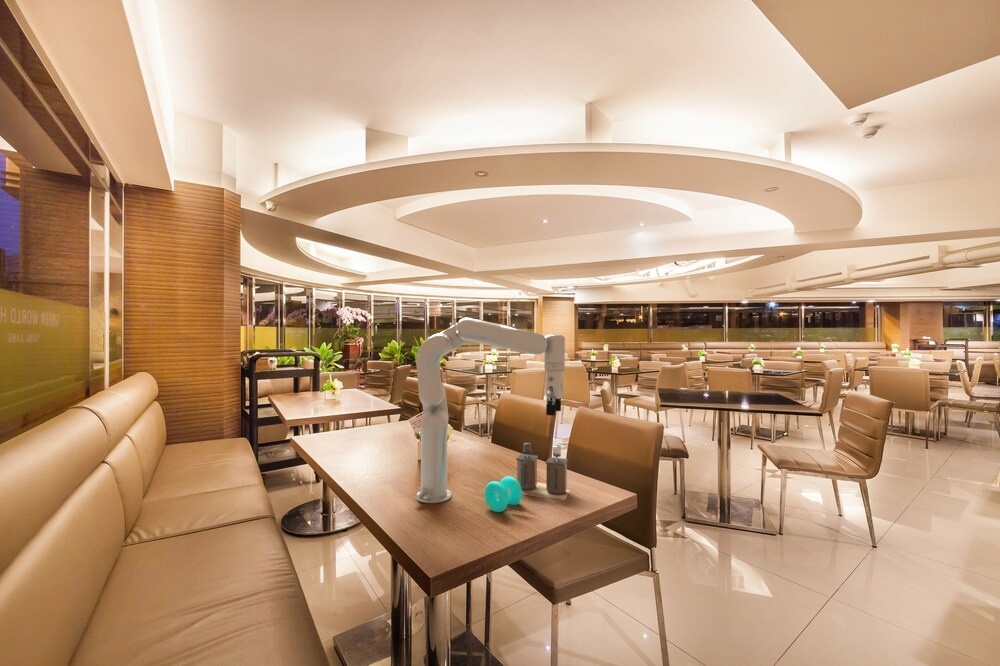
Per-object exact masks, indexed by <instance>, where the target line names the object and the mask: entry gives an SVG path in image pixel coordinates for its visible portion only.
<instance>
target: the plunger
mask: <svg viewBox="0 0 1000 666" xmlns="http://www.w3.org/2000/svg"><path fill="white" fill-rule="evenodd" d="M561 446H562V445H560V444H553V445H552V457H554V458H556V462H558V458H561V456H562V447H561Z"/></svg>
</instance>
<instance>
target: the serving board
mask: <svg viewBox="0 0 1000 666" xmlns="http://www.w3.org/2000/svg"><path fill="white" fill-rule="evenodd" d="M546 483H547V482H546ZM546 483H545V482H538V481H537V485H536V489H535V490H532V491H523V490H522V495H523V496H524V495H525V496H532V497H539V498H545V499H553V500H559V501H566V499H567V497H568V495H569V494H570V491H571V489H572V486H568V485H567V489H566V493H565V494H563V495H552V494H549V493H548V492H547V489H546Z"/></svg>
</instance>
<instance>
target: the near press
mask: <svg viewBox="0 0 1000 666" xmlns="http://www.w3.org/2000/svg"><path fill="white" fill-rule="evenodd" d="M545 464H546V489H547V492H548V493H549V494H552V495H563V494H565V493H566V489H567V486H568V485H567V483H568V482H567V481H568V480H567V478H568V477H567V475H568V474H567V473H568V469H567V467H568V465H567V464H568V458H561V457H558V462H556V457H554V456H550V457H548V459H547V460H546V461H545Z"/></svg>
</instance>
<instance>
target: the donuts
mask: <svg viewBox="0 0 1000 666" xmlns="http://www.w3.org/2000/svg"><path fill="white" fill-rule="evenodd" d="M522 499H523V494H522V489H521V486H520V484H519V482H518V481H517V478H515V477H513V476H504V477H503V478H501V480H500V482H499V481H494V480H493V481H490V482H488V483H487V485H486V486H485V488H484V500H485V502H486V505H487V507H488V508H489V509H490V510H491V511H493V512H495V513H501V512H504V510H506V509H507V506H508V505H512V506H517V505H518V504H520V503H521V501H522Z"/></svg>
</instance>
